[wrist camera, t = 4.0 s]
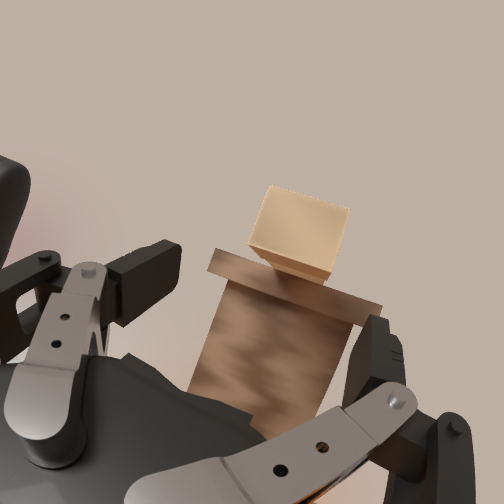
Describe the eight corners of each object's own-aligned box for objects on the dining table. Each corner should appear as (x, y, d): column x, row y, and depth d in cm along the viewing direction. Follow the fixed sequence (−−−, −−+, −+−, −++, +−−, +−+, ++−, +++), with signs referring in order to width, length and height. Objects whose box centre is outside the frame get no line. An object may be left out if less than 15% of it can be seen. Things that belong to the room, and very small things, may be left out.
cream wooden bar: (247, 244, 14) (269, 184, 15) (287, 284, 38) (295, 260, 38) (331, 272, 13) (351, 209, 14) (318, 295, 36) (326, 271, 37)
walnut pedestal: (126, 513, 21) (215, 247, 24) (169, 473, 32) (246, 268, 36) (240, 566, 17) (382, 305, 21) (259, 512, 29) (358, 307, 32)
